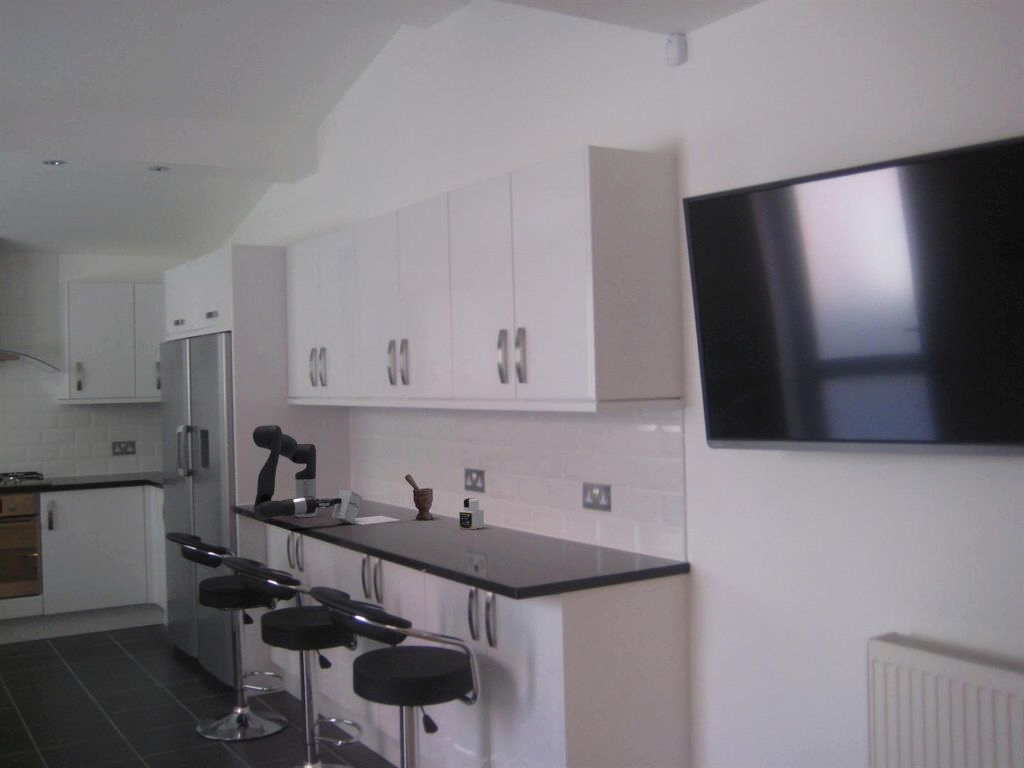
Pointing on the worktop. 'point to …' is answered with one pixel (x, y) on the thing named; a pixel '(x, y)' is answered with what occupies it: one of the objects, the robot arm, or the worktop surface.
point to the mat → (374, 520)
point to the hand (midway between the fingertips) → (340, 500)
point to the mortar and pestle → (421, 499)
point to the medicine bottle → (471, 515)
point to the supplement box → (347, 507)
